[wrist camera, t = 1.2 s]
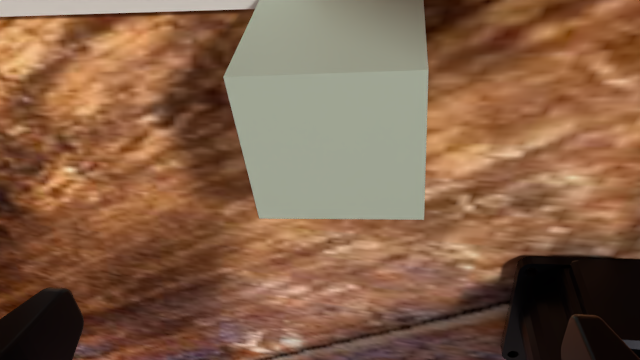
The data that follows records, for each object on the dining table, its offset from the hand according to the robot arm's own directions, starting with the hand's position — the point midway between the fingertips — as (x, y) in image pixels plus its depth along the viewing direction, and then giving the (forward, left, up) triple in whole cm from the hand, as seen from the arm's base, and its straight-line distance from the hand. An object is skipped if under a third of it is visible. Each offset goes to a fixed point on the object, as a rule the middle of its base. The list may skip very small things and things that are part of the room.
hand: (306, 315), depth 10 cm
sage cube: (0, 0, -11) cm, 11 cm away
